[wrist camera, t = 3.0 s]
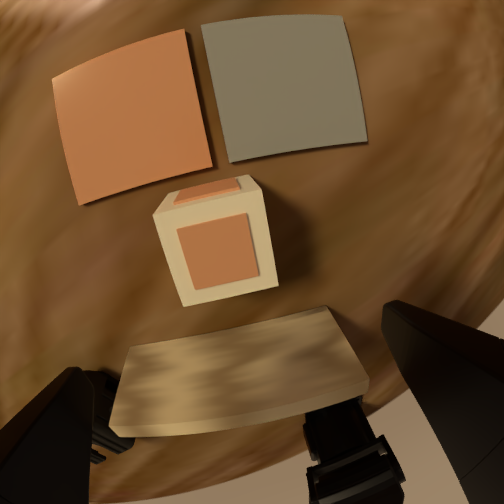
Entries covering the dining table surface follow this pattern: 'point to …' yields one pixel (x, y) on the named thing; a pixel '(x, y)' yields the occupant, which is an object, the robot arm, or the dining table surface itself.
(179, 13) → the dining table surface
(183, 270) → the marked cube
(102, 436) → the end cap
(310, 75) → the slate tile
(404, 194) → the dining table surface
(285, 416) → the beech screen
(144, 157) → the terracotta tile
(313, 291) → the dining table surface
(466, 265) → the dining table surface
